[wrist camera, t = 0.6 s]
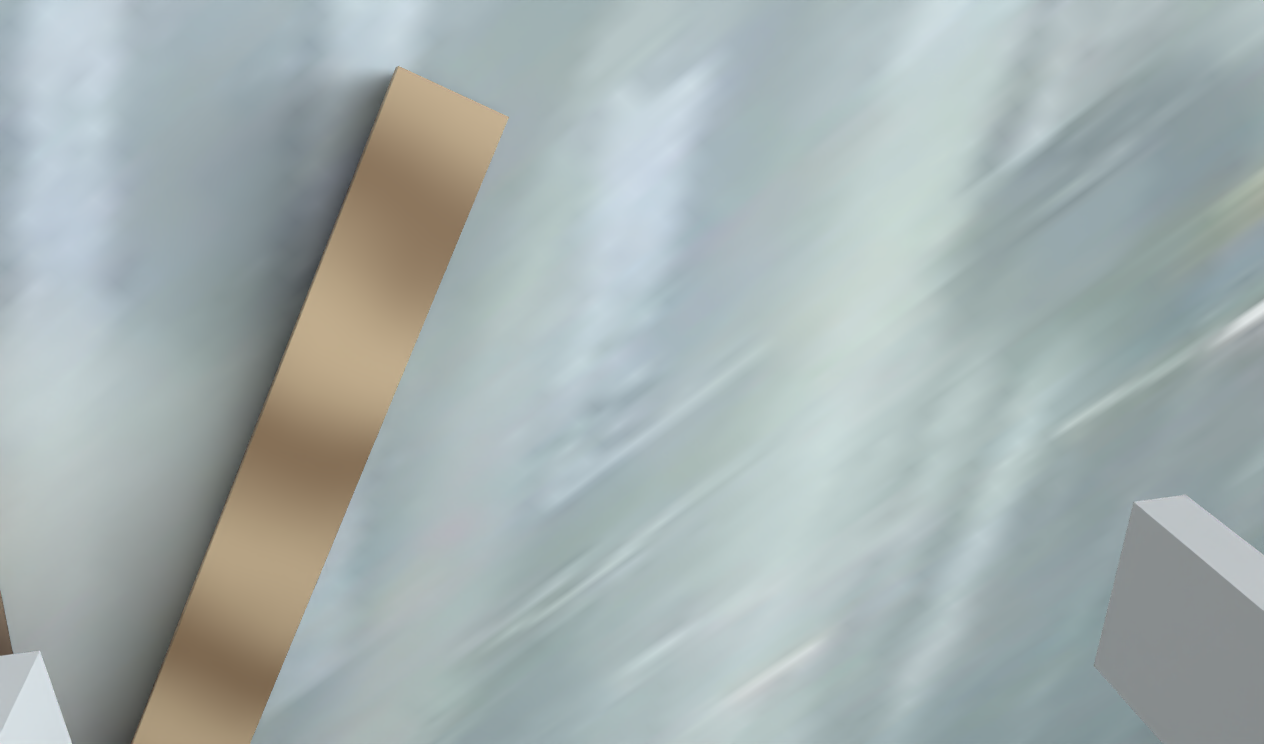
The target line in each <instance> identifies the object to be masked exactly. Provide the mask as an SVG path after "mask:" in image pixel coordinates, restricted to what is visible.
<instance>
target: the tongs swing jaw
mask: <svg viewBox="0 0 1264 744" xmlns="http://www.w3.org/2000/svg"><path fill="white" fill-rule="evenodd" d="M508 118H509V117H508V116H505V115H503V114H501V113H499V112H497V111H495V110H492V109H490V108H488V107H486V106H484V105H482V104H479V103H477V102H475V101H473V100H471V99H469V98H467V97H464V96H462V95H460V94H458V93H456V92H454V91H451V90H449V89H447V88H445V87H443V86H441V85H438V84H436V83H434V82H432V81H430V80H428V79H425V78H423V77H421V76H419V75H417V74H415V73H412V72H410V71H408V70H406V69H404V68H402V67H399V66H398V67H396V68H395V71H394V74H393V76H392V79H391V81H390V84H389V86H388V89H387V91H386V94H385V97H384V99H383V102H382V104H381V107H380V109H379V112H378V114H377V117H376V119H375V122H374V125H373V127H372V130H371V132H370V135H369V137H368V140H367V142H366V145H365V148H364V150H363V153H362V155H361V158H360V160H359V163H358V165H357V168H356V171H355V173H354V176H353V178H352V181H351V183H350V186H349V188H348V191H347V193H346V196H345V199H344V201H343V204H342V206H341V209H340V211H339V214H338V216H337V219H336V222H335V224H334V227H333V229H332V232H331V234H330V237H329V239H328V242H327V244H326V247H325V250H324V252H323V255H322V257H321V260H320V262H319V265H318V267H317V270H316V273H315V275H314V278H313V280H312V283H311V285H310V288H309V290H308V293H307V296H306V298H305V301H304V303H303V306H302V308H301V311H300V313H299V316H298V318H297V321H296V324H295V326H294V329H293V331H292V334H291V336H290V339H289V341H288V344H287V347H286V349H285V352H284V354H283V357H282V359H281V362H280V364H279V367H278V370H277V372H276V375H275V377H274V380H273V382H272V385H271V387H270V390H269V392H268V395H267V398H266V400H265V403H264V405H263V408H262V410H261V413H260V415H259V418H258V421H257V423H256V426H255V428H254V431H253V433H252V436H251V438H250V441H249V444H248V446H247V449H246V451H245V454H244V456H243V459H242V461H241V464H240V466H239V469H238V472H237V474H236V477H235V479H234V482H233V484H232V487H231V489H230V492H229V495H228V497H227V500H226V502H225V505H224V507H223V510H222V512H221V515H220V517H219V520H218V523H217V525H216V528H215V530H214V533H213V535H212V538H211V540H210V543H209V546H208V548H207V551H206V553H205V556H204V558H203V561H202V563H201V566H200V569H199V571H198V574H197V576H196V579H195V581H194V584H193V586H192V589H191V591H190V594H189V597H188V599H187V602H186V604H185V607H184V609H183V612H182V614H181V617H180V620H179V622H178V625H177V627H176V630H175V632H174V635H173V637H172V640H171V643H170V645H169V648H168V650H167V653H166V655H165V658H164V660H163V663H162V665H161V668H160V671H159V673H158V676H157V678H156V681H155V683H154V686H153V688H152V691H151V694H150V696H149V699H148V701H147V704H146V706H145V709H144V711H143V714H142V717H141V719H140V722H139V724H138V727H137V729H136V732H135V734H134V737H133V739H132V742H131V744H250V742H251V740H252V737H253V735H254V733H255V730H256V728H257V725H258V723H259V720H260V718H261V716H262V713H263V711H264V708H265V706H266V703H267V701H268V699H269V696H270V694H271V691H272V689H273V687H274V684H275V682H276V679H277V677H278V674H279V672H280V670H281V667H282V665H283V662H284V660H285V658H286V655H287V653H288V650H289V648H290V645H291V643H292V641H293V638H294V636H295V633H296V631H297V629H298V626H299V624H300V621H301V619H302V616H303V614H304V612H305V609H306V607H307V604H308V602H309V599H310V597H311V595H312V592H313V590H314V587H315V585H316V583H317V580H318V578H319V575H320V573H321V570H322V568H323V566H324V563H325V561H326V558H327V556H328V554H329V551H330V549H331V546H332V544H333V541H334V539H335V537H336V534H337V532H338V529H339V527H340V524H341V522H342V520H343V517H344V515H345V512H346V510H347V508H348V505H349V503H350V500H351V498H352V495H353V493H354V491H355V488H356V486H357V483H358V481H359V479H360V476H361V474H362V471H363V469H364V466H365V464H366V462H367V459H368V457H369V454H370V452H371V450H372V447H373V445H374V442H375V440H376V437H377V435H378V433H379V430H380V428H381V425H382V423H383V420H384V418H385V416H386V413H387V411H388V408H389V406H390V404H391V401H392V399H393V396H394V394H395V391H396V389H397V387H398V384H399V382H400V379H401V377H402V375H403V372H404V370H405V367H406V365H407V362H408V360H409V358H410V355H411V353H412V350H413V348H414V346H415V343H416V341H417V338H418V336H419V333H420V331H421V329H422V326H423V324H424V321H425V319H426V316H427V314H428V312H429V309H430V307H431V304H432V302H433V300H434V297H435V295H436V292H437V290H438V287H439V285H440V283H441V280H442V278H443V275H444V273H445V271H446V268H447V266H448V263H449V261H450V258H451V256H452V254H453V251H454V249H455V246H456V244H457V242H458V239H459V237H460V234H461V232H462V229H463V227H464V225H465V222H466V220H467V217H468V215H469V212H470V210H471V208H472V205H473V203H474V200H475V198H476V196H477V193H478V191H479V188H480V186H481V183H482V181H483V179H484V176H485V174H486V171H487V169H488V167H489V164H490V162H491V159H492V157H493V154H494V152H495V150H496V147H497V145H498V142H499V140H500V137H501V135H502V133H503V130H504V128H505V125H506V123H507V121H508Z"/></svg>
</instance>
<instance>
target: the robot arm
mask: <svg viewBox="0 0 1264 744" xmlns="http://www.w3.org/2000/svg"><path fill="white" fill-rule="evenodd" d="M1094 667H1095V668H1096V669H1097V670H1098V671H1099V672H1100V673H1101V674H1102V676H1103V677H1104V678H1105V679H1106V680H1107V681H1108V682H1109V683H1110V685H1111V686H1112V687H1113V688H1114V689H1115V690H1116V691H1117V692H1118V694H1119V695H1120V696H1121V697H1122V698H1123V699H1124V700H1125V701H1126V703H1127V704H1128V705H1129V706H1130V707H1131V708H1132V709H1133V710H1134V712H1135V713H1136V714H1137V715H1138V716H1139V717H1140V718H1141V719H1142V721H1143V722H1144V723H1145V724H1146V725H1147V726H1148V727H1149V728H1150V730H1151V731H1152V732H1153V733H1154V734H1155V735H1156V736H1157V737H1158V739H1159V740H1160V741H1161V742H1162V743H1163V744H1264V555H1263V554H1262V553H1260V552H1259V551H1258V550H1256V549H1255V548H1254V547H1252V546H1251V545H1250V544H1249V543H1247V542H1246V541H1245V540H1243V539H1242V538H1241V537H1240V536H1238V535H1237V534H1236V533H1234V532H1233V531H1232V530H1230V529H1229V528H1228V527H1227V526H1225V525H1224V524H1223V523H1221V522H1220V521H1219V520H1218V519H1216V518H1215V517H1214V516H1212V515H1211V514H1210V513H1209V512H1207V511H1206V510H1205V509H1203V508H1202V507H1201V506H1199V505H1198V504H1197V503H1196V502H1194V501H1193V500H1192V499H1190V498H1189V497H1188V496H1187V495H1180V496H1173V497H1166V498H1158V499H1151V500H1144V501H1136V502H1133V507H1132V511H1131V515H1130V519H1129V523H1128V527H1127V531H1126V535H1125V539H1124V544H1123V548H1122V552H1121V556H1120V560H1119V564H1118V568H1117V572H1116V576H1115V580H1114V585H1113V589H1112V593H1111V597H1110V601H1109V605H1108V609H1107V613H1106V617H1105V621H1104V626H1103V630H1102V634H1101V638H1100V642H1099V646H1098V650H1097V654H1096V658H1095V662H1094ZM0 744H72V742H71V739H70V736H69V733H68V730H67V727H66V724H65V721H64V719H63V716H62V713H61V710H60V707H59V704H58V701H57V698H56V695H55V692H54V690H53V687H52V684H51V681H50V678H49V675H48V672H47V669H46V666H45V664H44V661H43V658H42V655H41V652H40V651H32V652H25V653H18V654H10V655H3V656H0Z"/></svg>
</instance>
